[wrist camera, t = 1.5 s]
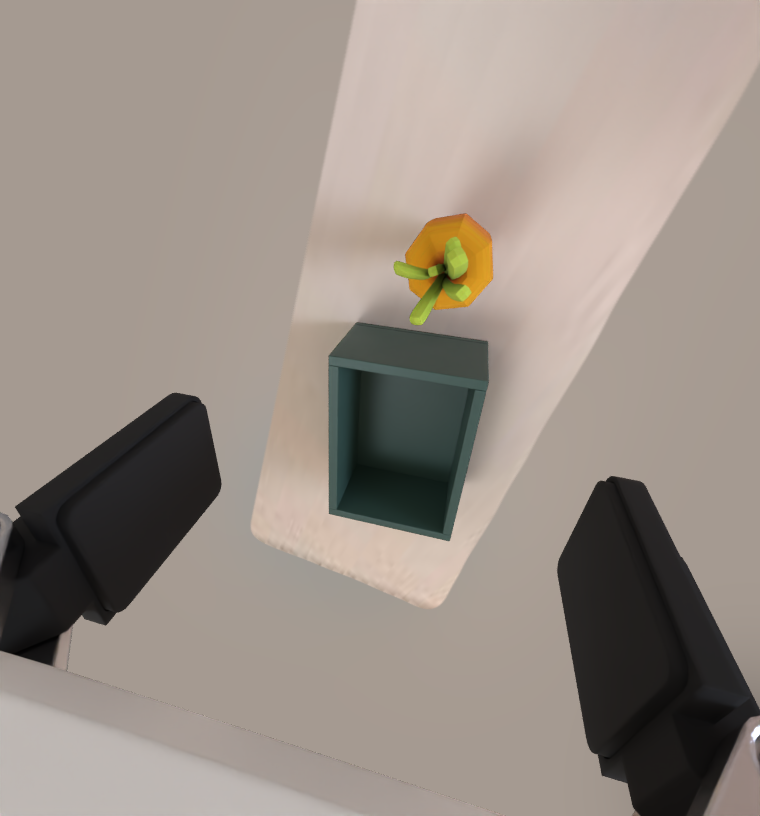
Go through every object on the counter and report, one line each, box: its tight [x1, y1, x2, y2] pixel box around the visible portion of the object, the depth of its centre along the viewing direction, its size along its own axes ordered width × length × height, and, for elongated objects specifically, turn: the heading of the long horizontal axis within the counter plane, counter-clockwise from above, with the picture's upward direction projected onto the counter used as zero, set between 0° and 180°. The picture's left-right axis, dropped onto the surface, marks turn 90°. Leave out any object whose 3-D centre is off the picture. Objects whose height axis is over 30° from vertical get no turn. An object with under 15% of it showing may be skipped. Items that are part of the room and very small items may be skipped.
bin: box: [329, 322, 489, 541], centre depth 35 cm, size 17×12×8 cm
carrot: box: [394, 213, 493, 325], centre depth 23 cm, size 5×5×15 cm
